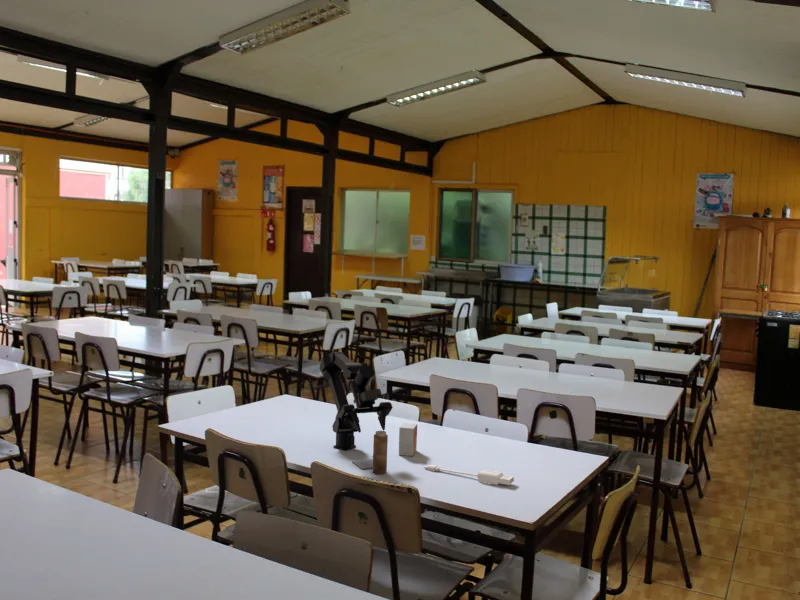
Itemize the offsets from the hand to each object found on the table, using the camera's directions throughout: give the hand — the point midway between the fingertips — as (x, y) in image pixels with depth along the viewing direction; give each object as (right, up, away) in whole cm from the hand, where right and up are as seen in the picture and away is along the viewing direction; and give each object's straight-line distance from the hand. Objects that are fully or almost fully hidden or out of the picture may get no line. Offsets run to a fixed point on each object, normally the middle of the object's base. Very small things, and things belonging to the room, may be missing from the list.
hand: (372, 430), depth 256 cm
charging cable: (+33, -15, -8) cm, 37 cm away
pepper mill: (+3, -13, -6) cm, 15 cm away
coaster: (-1, -13, +3) cm, 13 cm away
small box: (+13, -12, +19) cm, 26 cm away
